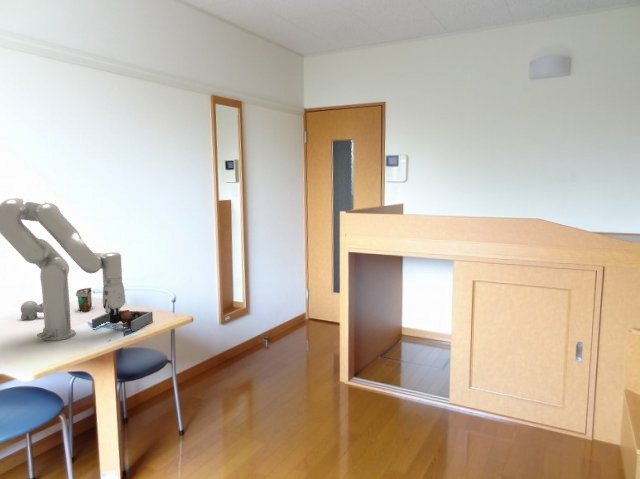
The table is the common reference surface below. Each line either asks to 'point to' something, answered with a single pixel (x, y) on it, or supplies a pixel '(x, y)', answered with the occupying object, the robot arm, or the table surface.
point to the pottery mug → (127, 317)
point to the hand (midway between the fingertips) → (114, 322)
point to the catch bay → (135, 324)
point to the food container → (84, 299)
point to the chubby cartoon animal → (31, 310)
